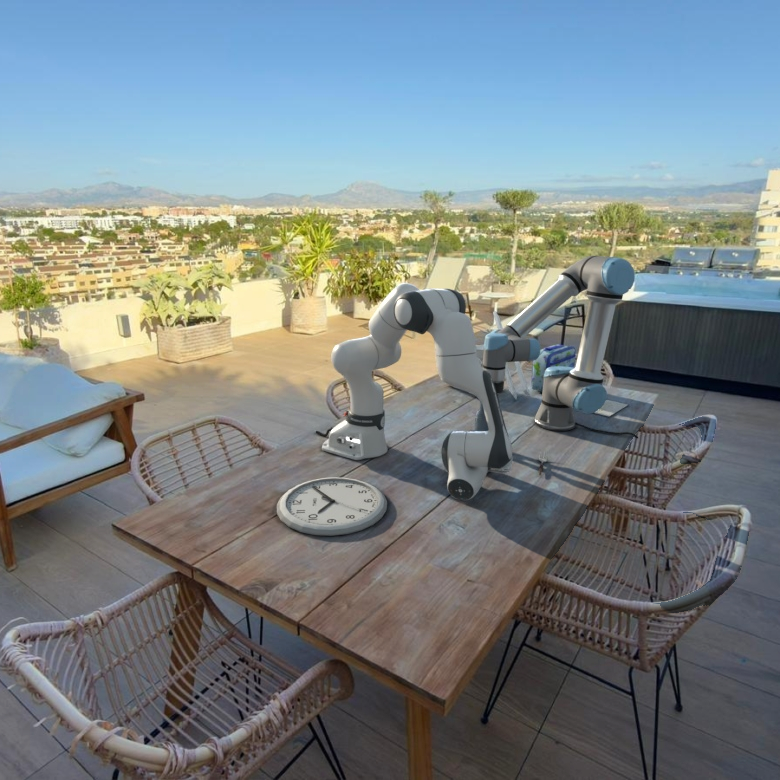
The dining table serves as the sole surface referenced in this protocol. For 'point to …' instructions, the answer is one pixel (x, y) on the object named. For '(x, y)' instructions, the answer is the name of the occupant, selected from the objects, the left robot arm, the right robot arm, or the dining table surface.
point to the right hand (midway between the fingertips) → (487, 443)
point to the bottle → (481, 420)
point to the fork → (542, 461)
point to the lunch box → (551, 362)
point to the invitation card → (610, 408)
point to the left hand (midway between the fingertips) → (482, 448)
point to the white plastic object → (507, 373)
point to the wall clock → (331, 506)
